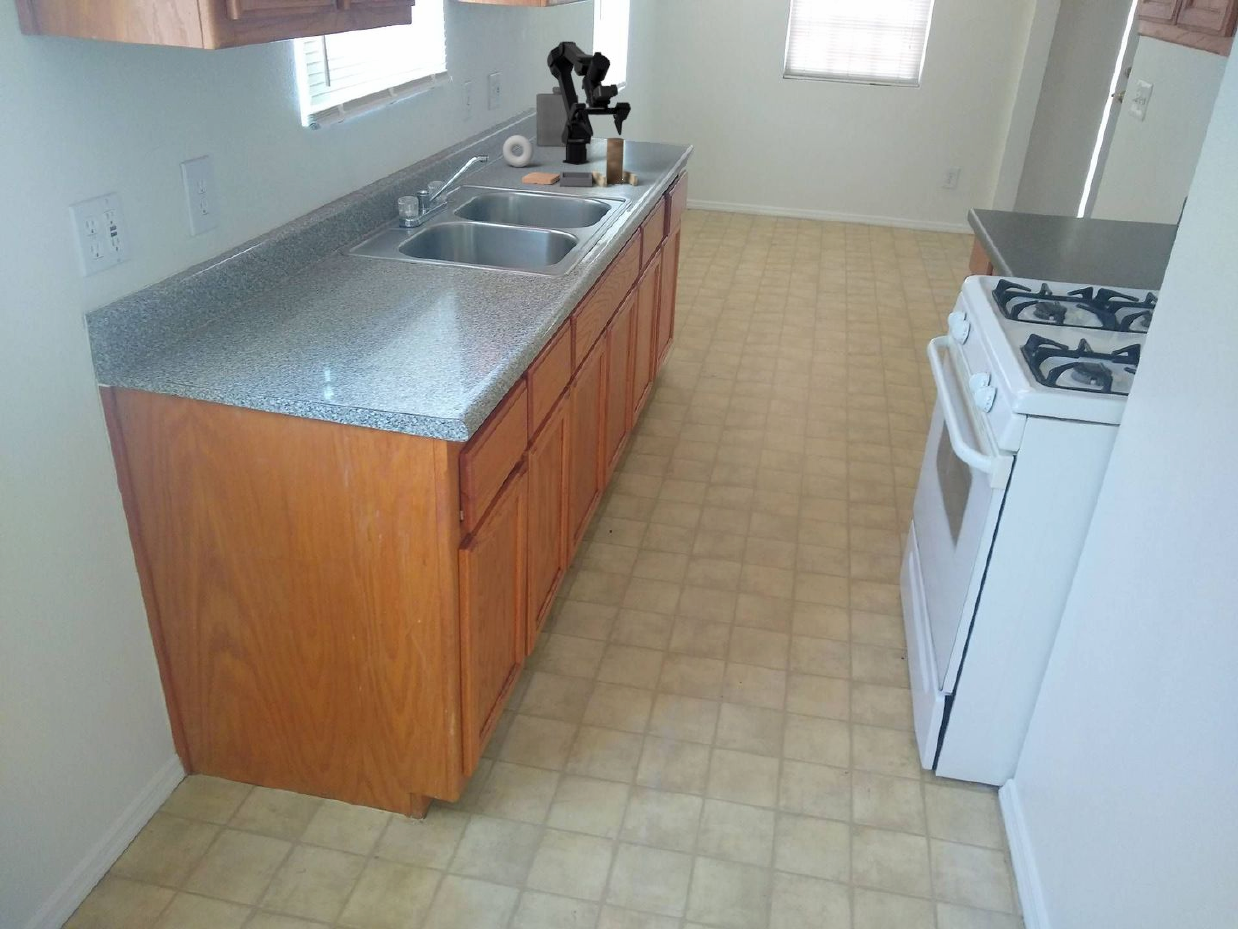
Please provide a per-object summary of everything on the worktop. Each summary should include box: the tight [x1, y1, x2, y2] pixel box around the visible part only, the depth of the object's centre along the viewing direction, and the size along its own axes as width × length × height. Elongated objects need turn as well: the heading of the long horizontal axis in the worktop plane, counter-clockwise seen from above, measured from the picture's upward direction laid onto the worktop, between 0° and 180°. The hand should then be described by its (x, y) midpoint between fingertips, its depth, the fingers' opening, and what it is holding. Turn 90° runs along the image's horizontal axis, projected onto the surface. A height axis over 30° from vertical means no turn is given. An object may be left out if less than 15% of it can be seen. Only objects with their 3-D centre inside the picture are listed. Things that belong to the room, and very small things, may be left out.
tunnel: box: [591, 168, 638, 188], centre depth 290 cm, size 10×11×3 cm
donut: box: [502, 134, 534, 168], centre depth 306 cm, size 10×4×10 cm, turn 87°
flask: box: [535, 86, 579, 148], centre depth 342 cm, size 15×6×20 cm, turn 96°
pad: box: [521, 171, 560, 185], centre depth 290 cm, size 9×9×2 cm
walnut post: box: [605, 137, 625, 185], centre depth 288 cm, size 5×5×13 cm
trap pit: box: [559, 171, 593, 188], centre depth 288 cm, size 10×10×2 cm
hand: (606, 134), depth 291 cm, fingers open, 9 cm apart
